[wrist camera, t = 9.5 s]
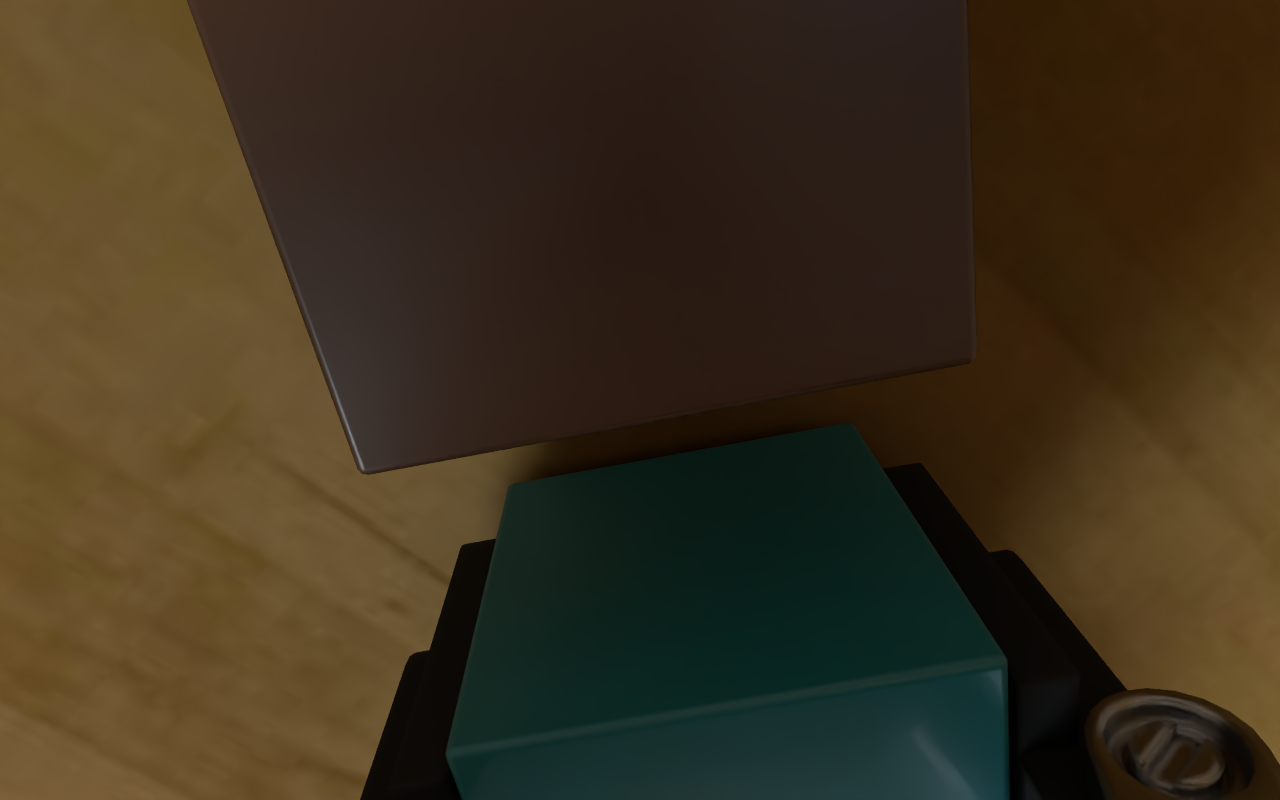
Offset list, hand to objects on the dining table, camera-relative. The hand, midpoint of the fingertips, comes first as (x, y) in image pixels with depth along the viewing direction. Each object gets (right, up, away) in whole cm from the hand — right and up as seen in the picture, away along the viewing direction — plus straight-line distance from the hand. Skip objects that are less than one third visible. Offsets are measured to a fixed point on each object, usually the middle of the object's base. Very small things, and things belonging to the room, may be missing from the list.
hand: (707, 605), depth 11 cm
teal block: (0, 0, 0) cm, 0 cm away
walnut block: (-1, +6, -2) cm, 7 cm away
